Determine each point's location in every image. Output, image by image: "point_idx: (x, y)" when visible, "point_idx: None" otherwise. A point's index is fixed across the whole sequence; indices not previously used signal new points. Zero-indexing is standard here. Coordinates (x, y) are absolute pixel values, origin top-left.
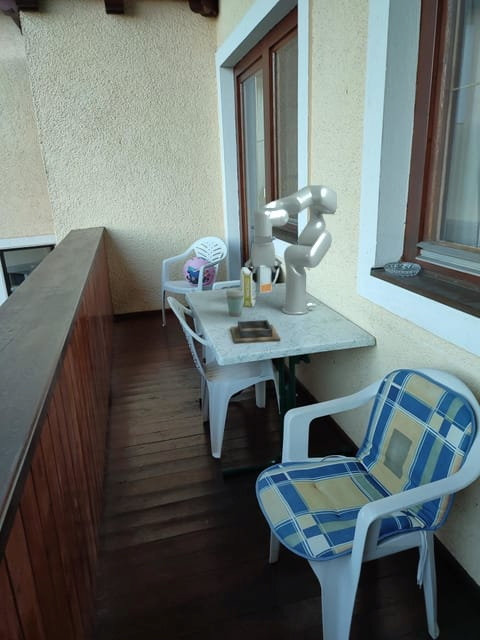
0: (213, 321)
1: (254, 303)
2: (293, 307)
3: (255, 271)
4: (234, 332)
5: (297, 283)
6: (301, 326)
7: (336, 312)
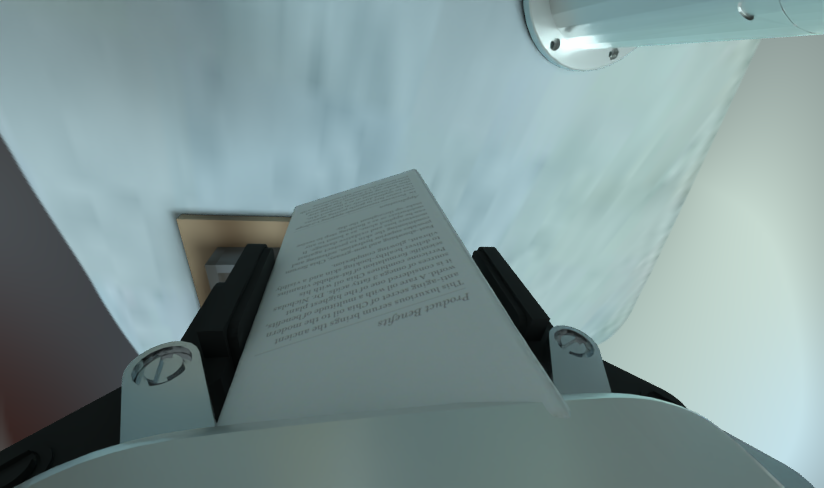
0: (18, 45)
1: None
2: (581, 37)
3: (236, 376)
4: (206, 292)
5: (778, 31)
6: (496, 236)
7: (738, 81)
